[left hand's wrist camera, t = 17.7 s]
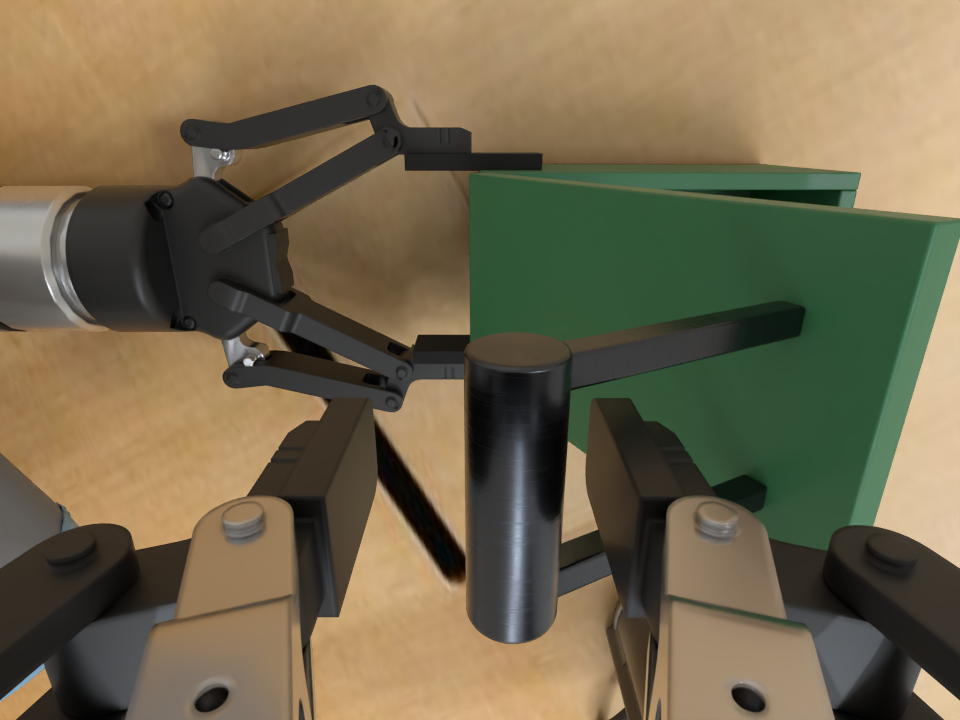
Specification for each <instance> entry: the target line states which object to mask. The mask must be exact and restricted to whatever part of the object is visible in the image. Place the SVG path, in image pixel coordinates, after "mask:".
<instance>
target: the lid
mask: <svg viewBox="0 0 960 720" xmlns="http://www.w3.org/2000/svg"><path fill="white" fill-rule="evenodd" d="M469 195H470V343H469V344H468V345H467V346H466V348H465V351H464V418H465V524H466V610H467V614H468V617H469V619H470V621H471V622H472V624H473V625H474V627H475V628H476V629H477V630H478V631H479V632H480V633H481V634H483V635H484V636H486V637H488V638H490V639H492V640H494V641H498V642H501V643H507V644H520V643H526V642H530V641H532V640H535V639H537V638H539V637H541V636H542V635H543V634H545V633H546V632H547V631H548V630H549V628H550V627H551V626H552V624H553V622H554V620H555V617H556V613H557V599H558V597H560V596H562V595H564V594H567V593H569V592H571V591H574V590H576V589H578V588H581V587H583V586H585V585H588V584H590V583H592V582H595V581H597V580H599V579H602V578H604V577H606V576H609V575H611V574H612V573H611V569H610V566H609V563H608V559H607V556H606V553H605V550H604V546H603V543H602V540H601V536H600V533H599V530H596V531H593V532H591V533H588V534H585V535H583V536H580V537H578V538H575V539H572V540H570V541H567V542H564V543H562V544H561V537H562V521H563V506H564V490H565V475H566V459H567V443H568V441H569V442H570V443H572V444H573V445H574V446H576V447H577V448H578V449H580V450H581V451H583V452H584V453H585V454H587V442H588V429H589V416H590V406H591V402H592V399H593V398H630V399H631V400H632V402H633V403H634V405H635V407H636V409H637V410H638V412H639V414H640V415H641V417H642V419H643V421H657V422H659V423H660V424H662V425H663V426H665V427H666V428H668V429H669V430H671V431H672V432H674V433H675V434H676V435H677V437H678V438H679V440H680V441H681V443H682V444H683V446H684V447H685V451H687V452H688V453H689V455H690V456H691V458H692V459H693V463H695V464H696V465H697V467H698V468H699V470H700V471H701V473H702V474H703V476H704V477H705V479H706V480H707V482H708V483H709V485H710V486H711V488H712V489H713V491H714V492H715V494H716V495H717V497H718V498H722V499H725V500H729V501H731V502H734V503H736V504H739V505H741V506H742V507H744V508H746V509H748V510H749V511H751V512H752V513H753V514H755V515H756V516H757V517H758V518H759V519H760V520H761V521H762V523H763V524H764V526H765V528H766V531H767V534H768V537H769V538H772V539H775V540H778V541H782V542H786V543H791V544H796V545H801V546H806V547H811V548H816V549H821V550H826V551H827V550H828V546H829V543H830V539H831V536H832V534H833V533H834V532H835V531H836V530H837V529H839V528H841V527H845V526H850V525H866V526H873V524H874V521H875V518H876V515H877V511H878V508H879V505H880V501H881V498H882V495H883V491H884V488H885V485H886V481H887V478H888V475H889V471H890V468H891V465H892V461H893V458H894V455H895V451H896V448H897V445H898V441H899V438H900V435H901V431H902V428H903V425H904V421H905V418H906V415H907V411H908V408H909V405H910V401H911V398H912V395H913V391H914V388H915V385H916V381H917V378H918V375H919V371H920V368H921V365H922V361H923V358H924V355H925V351H926V348H927V345H928V341H929V338H930V335H931V331H932V328H933V325H934V322H935V318H936V315H937V312H938V308H939V305H940V302H941V298H942V295H943V292H944V288H945V285H946V282H947V278H948V275H949V272H950V268H951V265H952V262H953V258H954V255H955V252H956V248H957V245H958V242H959V238H960V218H950V217H939V216H929V215H919V214H908V213H898V212H888V211H878V210H867V209H857V208H847V207H836V206H826V205H816V204H805V203H795V202H785V201H775V200H764V199H754V198H744V197H733V196H723V195H713V194H703V193H692V192H682V191H672V190H661V189H651V188H641V187H631V186H620V185H610V184H600V183H589V182H579V181H569V180H558V179H548V178H538V177H528V176H517V175H507V174H497V173H471V174H470V175H469Z"/></svg>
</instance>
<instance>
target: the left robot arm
mask: <svg viewBox="0 0 960 720" xmlns="http://www.w3.org/2000/svg"><path fill="white" fill-rule="evenodd" d="M376 485H377V456H376V443H375V430H374V416H373V406H372V401H371V399H370V398H369V397H334V398H333V399H332V400H331V402H330V404H329V405H328V407H327V409H326V410H325V412H324V414H323V416H322V417H321V419H320V421H305V422H304V423H302V424H301V425H299V426H298V427H296V428H295V429H293V430H292V431H290V432H289V433H288V434H287V435H286V437H285V439H284V440H283V442H282V443H281V445H280V446H279V450H277V451H276V452H275V454H274V455H273V457H272V458H271V463H268V464H267V466H266V468H265V469H264V471H263V472H262V474H261V475H260V477H259V478H258V480H257V481H256V483H255V484H254V486H253V487H252V489H251V490H250V492H249V493H248V495H247V496H246V497H242V498H238V499H235V500H231V501H229V502H226V503H224V504H221V505H219V506H218V507H216V508H214V509H212V510H211V511H209V512H208V513H207V514H205V515H204V516H203V517H202V518H201V519H200V520H199V521H198V523H197V524H196V526H195V528H194V531H193V534H192V538H190V539H187V540H183V541H179V542H174V543H169V544H164V545H159V546H154V547H149V548H145V549H140V550H135V547H134V544H133V540H132V536H131V534H130V532H129V531H128V530H127V529H126V528H124V527H122V526H119V525H116V524H103V523H101V524H91V525H85V526H81V527H77V528H73V529H70V530H67V531H64V532H61V533H59V534H57V535H54V536H52V537H50V538H48V539H46V540H44V541H42V542H40V543H39V544H37V545H35V546H34V547H32V548H31V549H29V550H28V551H26V552H25V553H23V554H22V555H20V556H19V557H17V558H16V559H14V560H12V561H11V562H9V563H8V564H6V565H5V566H3V567H2V568H0V700H1V699H2V698H4V697H5V696H6V695H7V694H8V693H9V692H11V691H12V690H13V689H14V688H15V687H16V686H18V685H19V684H20V683H21V682H22V681H23V680H25V679H26V678H27V677H28V676H29V675H30V674H32V673H33V672H34V671H35V670H36V669H37V668H39V667H40V666H41V665H42V664H44V666H45V669H46V672H47V674H48V677H49V680H50V683H51V685H52V688H51V689H49V690H48V691H47V692H46V693H45V694H44V695H43V696H42V697H41V698H40V699H38V700H37V701H36V702H35V703H34V704H33V705H32V706H31V707H30V708H29V709H27V710H26V711H25V712H24V713H23V714H22V715H21V716H20V717H19V718H17V719H16V720H317V718H316V701H315V683H314V666H313V650H312V643H311V635H312V632H313V629H314V626H315V623H316V620H317V617H339V614H340V611H341V608H342V604H343V601H344V597H345V594H346V591H347V587H348V584H349V581H350V577H351V574H352V570H353V567H354V564H355V560H356V557H357V554H358V550H359V547H360V543H361V540H362V537H363V533H364V530H365V527H366V523H367V520H368V516H369V513H370V510H371V506H372V503H373V500H374V496H375V492H376ZM586 487H587V493H588V497H589V500H590V504H591V507H592V510H593V513H594V517H595V520H596V523H597V527H598V530H599V533H600V536H601V540H602V543H603V546H604V550H605V553H606V556H607V559H608V563H609V566H610V569H611V573H612V576H613V579H614V582H615V586H616V589H617V592H618V596H619V599H620V602H619V603H618V605H617V607H616V610H615V613H614V618H613V625H612V626H611V627H610V628H609V629H608V630H607V631H606V635H607V639H608V643H609V647H610V651H611V655H612V659H613V662H614V666H615V670H616V674H617V678H618V682H619V686H620V690H621V694H622V698H623V702H624V705H625V708H624V709H623V710H621V711H620V712H619V713H618V714H617V715H615V716H614V717H613V718H611V719H609V720H944V719H943V718H941V717H940V716H939V715H938V714H937V713H936V712H935V711H934V710H933V709H932V708H930V707H929V706H928V705H927V704H926V703H925V702H924V701H923V700H922V699H920V698H919V697H918V696H917V695H916V694H915V693H914V692H913V689H914V686H915V683H916V681H917V678H918V676H919V673H920V670H921V668H923V669H924V670H925V671H926V672H927V673H928V674H930V675H931V676H932V677H933V678H934V679H935V680H937V681H938V682H939V683H940V684H941V685H942V686H944V687H945V688H946V689H947V690H948V691H949V692H951V693H952V694H953V695H954V696H955V697H956V698H958V699H959V700H960V568H958V567H957V566H955V565H954V564H952V563H951V562H949V561H948V560H946V559H945V558H943V557H941V556H940V555H938V554H937V553H935V552H934V551H932V550H931V549H929V548H928V547H926V546H924V545H923V544H921V543H919V542H917V541H915V540H913V539H911V538H909V537H907V536H904V535H902V534H900V533H897V532H894V531H891V530H887V529H883V528H879V527H874V526H866V525H850V526H845V527H841V528H839V529H837V530H836V531H835V532H834V533H833V534H832V536H831V539H830V543H829V546H828V550H827V551H826V550H821V549H816V548H811V547H806V546H801V545H796V544H791V543H786V542H782V541H778V540H775V539H772V538H769V537H768V534H767V531H766V528H765V526H764V524H763V523H762V521H761V520H760V519H759V518H758V517H757V516H756V515H755V514H753V513H752V512H751V511H749V510H748V509H746V508H744V507H742V506H741V505H739V504H736V503H734V502H731V501H729V500H725V499H722V498H718V497H717V495H716V494H715V492H714V491H713V489H712V488H711V486H710V485H709V483H708V482H707V480H706V479H705V477H704V476H703V474H702V473H701V471H700V470H699V468H698V467H697V465H696V464H695V463H693V459H692V458H691V456H690V455H689V453H688V452H687V451H685V447H684V446H683V444H682V443H681V441H680V440H679V438H678V437H677V435H676V434H675V433H674V432H672V431H671V430H669V429H668V428H666V427H665V426H663V425H662V424H660V423H659V422H657V421H643V419H642V417H641V415H640V414H639V412H638V410H637V409H636V407H635V405H634V403H633V402H632V400H631V399H630V398H593V399H592V402H591V406H590V416H589V429H588V442H587V455H586Z"/></svg>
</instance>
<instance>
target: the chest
mask: <svg viewBox="0 0 960 720" xmlns="http://www.w3.org/2000/svg"><path fill="white" fill-rule="evenodd" d="M479 173H497V174H507V175H517V176H528V177H538V178H548V179H558V180H569V181H579V182H589V183H600V184H610V185H620V186H631V187H641V188H651V189H661V190H672V191H682V192H692V193H703V194H713V195H723V196H733V197H744V198H754V199H764V200H775V201H785V202H795V203H805V204H816V205H826V206H836V207H847V208H853V206H854V201H855V197H856V193H857V192H856V190H857V189H858V185H859V180H860V176H861V173H857V172H845V171H834V170H822V169H810V168H798V167H787V166H775V165H766V164H542V170H480V171H479Z"/></svg>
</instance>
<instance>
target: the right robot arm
mask: <svg viewBox="0 0 960 720" xmlns="http://www.w3.org/2000/svg"><path fill="white" fill-rule="evenodd" d="M366 120H370V122H371V124H372V127H373V129H374V132H375V134H374V135H372V136H370V137H368V138H367V139H365V140H363V141H361V142H360V143H358V144H356V145H354V146H353V147H351V148H349V149H347V150H346V151H344V152H342V153H341V154H339V155H337V156H335V157H334V158H332V159H330V160H328V161H327V162H325V163H323V164H321V165H320V166H318V167H316V168H314V169H313V170H311V171H309V172H307V173H306V174H304V175H302V176H300V177H299V178H297V179H295V180H294V181H292V182H290V183H288V184H287V185H285V186H283V187H281V188H280V189H278V190H276V191H274V192H272V193H270V194H268V195H266V196H264V197H262V198H260V199H258V200H257V201H255V200H253V199H252V198H250V197H249V196H247V195H246V194H244V193H243V192H241V191H240V190H238V189H237V188H236V187H234V186H233V185H231V184H230V183H228V182H227V181H225V180H224V179H222V172H223V170H224V169H225V168H226V167H228V166H232V165H236V164H238V163H239V162H240V161H241V158H242V150H245V149H259V148H264V147H268V146H272V145H276V144H279V143H283V142H287V141H291V140H294V139H298V138H302V137H306V136H310V135H313V134H317V133H321V132H325V131H328V130H332V129H336V128H340V127H343V126H347V125H351V124H355V123H359V122H362V121H366ZM180 133H181V137H182V138H183V140H184V141H185V142H186V143H187V144H189V145H191V146H192V156H193V172H194V177H193V178H190V179H189V180H187V181H186V182H184V183H183V184H180V185H178V186H100V187H96V188H94V189H93V188H91V187H88V186H1V187H0V331H72V332H104V331H107V330H110V329H111V330H114V331H119V332H185V331H198V332H203V333H206V334H208V335H210V336H212V337H214V338H217V339H220V340H222V344H223V347H224V351H225V354H226V358H227V361H228V365H229V368H228V369H227V370H226V371H224V373H223V381H224V383H225V384H226V385H227V386H229V387H231V388H245V387H255V386H265V385H267V386H272V387H276V388H281V389H286V390H290V391H295V392H300V393H304V394H309V395H313V396H318V397H323V398H327V399H333V398H334V397H369V398H370V399H371V401H372V406H373V409H378V410H383V411H387V412H396V411H398V410H399V409H400V408H401V406H402V404H403V401H404V398H405V395H406V392H407V389H408V387H409V385H410V384H411V383H412V382H413V381H415V380H419V379H464V351H465V348H466V346H467V345H468V344H469V343H470V335H418V337H417V340H416V343H415V345H414V344H413V345H412V347H411V348H410V347H408V346H406V345H404V344H402V343H400V342H397V341H395V340H393V339H391V338H389V337H387V336H385V335H383V334H381V333H379V332H377V331H374V330H372V329H370V328H368V327H366V326H364V325H362V324H360V323H358V322H356V321H353V320H351V319H349V318H347V317H345V316H343V315H341V314H339V313H337V312H335V311H332V310H330V309H328V308H326V307H324V306H322V305H320V304H318V303H316V302H314V301H312V300H311V298H310V297H309V296H308V295H306V294H304V293H302V292H300V291H298V290H296V289H294V288H292V286H293V285H294V280H293V272H292V269H291V266H290V264H289V261H288V258H287V253H288V246H289V238H288V229H287V228H284V227H283V225H282V223H281V221H282V220H284V219H286V218H288V217H290V216H291V215H293V214H295V213H297V212H298V211H300V210H301V209H303V208H305V207H306V206H308V205H310V204H312V203H314V202H315V201H317V200H319V199H321V198H322V197H324V196H326V195H328V194H330V193H331V192H333V191H335V190H337V189H338V188H340V187H342V186H344V185H346V184H347V183H349V182H351V181H353V180H354V179H356V178H358V177H360V176H361V175H363V174H365V173H367V172H369V171H370V170H372V169H374V168H376V167H377V166H379V165H381V164H383V163H385V162H386V161H388V160H390V159H392V158H393V157H395V156H397V155H399V154H404V155H405V171H480V170H542V155H543V154H541V153H471V132H469V131H467V130H465V129H463V128H411V127H408V126H406V125H405V124H403V122H402V121H401V120H400V118H399V115H398V113H397V110H396V108H395V105H394V99H393V97H392V95H391V94H390V93H389V92H388V91H386V90H384V89H383V88H381V87H379V86H376V85H369V86H365V87H361V88H358V89H354V90H350V91H346V92H343V93H339V94H335V95H332V96H328V97H324V98H321V99H317V100H313V101H310V102H306V103H302V104H298V105H295V106H291V107H287V108H284V109H280V110H276V111H273V112H269V113H265V114H262V115H258V116H254V117H250V118H247V119H243V120H239V121H236V122H232V123H229V122H221V121H212V120H199V119H187V120H186V121H184V122H183V123H182V125H181V128H180ZM258 321H259V322H261V323H263V324H265V325H267V326H270V327H272V328H274V329H276V330H278V331H281V332H291V333H294V334H296V335H298V336H301V337H303V338H305V339H307V340H309V341H311V342H314V343H316V344H318V345H320V346H322V347H324V348H326V349H329V350H331V351H333V352H335V353H337V354H339V355H342V356H344V357H346V358H348V359H350V360H352V361H354V362H357V363H359V364H361V365H363V366H365V367H367V368H370V369H372V370H369V369H365V368H360V367H356V366H351V365H347V364H342V363H338V362H333V361H329V360H324V359H320V358H315V357H311V356H306V355H302V354H297V353H293V352H287V351H278V350H272V351H269V349H268V346H267V345H266V344H264V343H259V342H254V341H251V340H250V339H249V338H248V337H247V336H246V334H245V331H247V330H248V329H249V328H251V327H252V326H253V325H254V324H256V323H257V322H258ZM77 527H79V526H78V525H77V524H76V523H75V521H74V520H73V519H72V518H71V516H70V513H69V512H68V511H67V509H66V507H64V506H62V505H60V504H58V503H55V502H54V501H53V500H52V499H50V498H49V497H48V496H47V495H46V494H45V493H44V492H43V491H42V490H41V489H39V488H38V487H37V486H36V485H35V484H34V483H33V482H32V481H31V480H30V479H28V478H27V477H26V476H25V475H24V474H23V473H22V472H21V471H20V470H19V469H17V468H16V467H15V466H14V465H13V464H12V463H11V462H10V461H9V460H8V459H7V458H5V457H4V456H3V455H2V454H1V453H0V568H2V567H3V566H5V565H6V564H8V563H9V562H11V561H12V560H14V559H16V558H17V557H19V556H20V555H22V554H23V553H25V552H26V551H28V550H29V549H31V548H32V547H34V546H35V545H37V544H39V543H40V542H42V541H44V540H46V539H48V538H50V537H52V536H54V535H57V534H59V533H61V532H64V531H67V530H70V529H73V528H77ZM44 668H45V666H44V664H42V665H41V666H40V667H39V668H37V669H36V670H35V671H34V672H33V673H32V674H30V675H29V676H28V677H27V678H26V679H25V680H23V681H22V682H21V683H20V684H19V685H18V686H16V687H15V688H14V689H13V690H12V691H11V692H9V693H8V694H7V695H6V696H5V697H4V698H2V699H1V700H0V701H2V700H4V699H5V698H7V697H8V696H10V695H11V694H13V693H14V692H15V691H17V690H18V689H19V688H21V687H22V686H23V685H25V684H26V683H27V682H29V681H30V680H31V679H32V678H33V677H35V676H36V675H37V674H38V673H39V672H40V671H42V670H43V669H44Z"/></svg>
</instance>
